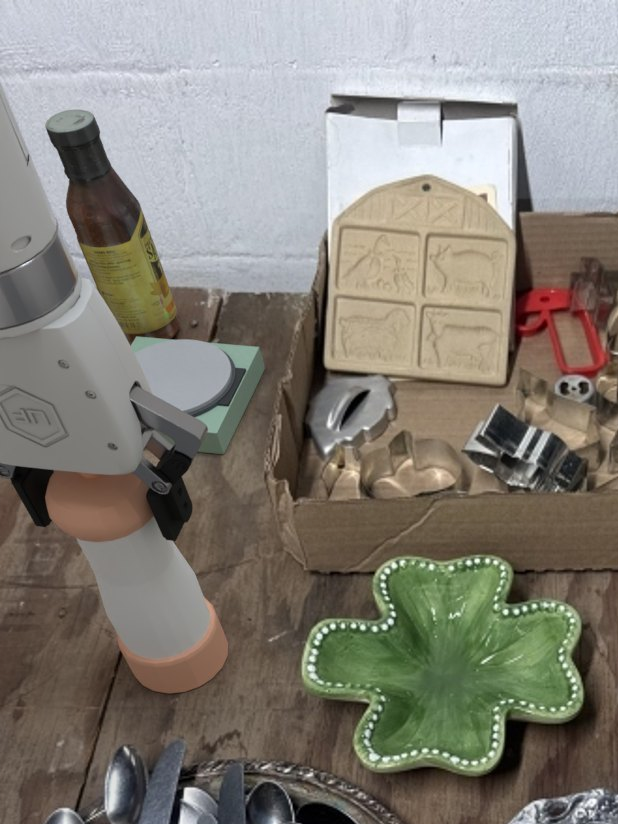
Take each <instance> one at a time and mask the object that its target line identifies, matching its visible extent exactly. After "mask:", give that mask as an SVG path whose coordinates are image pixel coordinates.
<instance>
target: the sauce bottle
mask: <svg viewBox="0 0 618 824" xmlns="http://www.w3.org/2000/svg"><path fill="white" fill-rule="evenodd" d="M45 130H46V132H47V136H48V137H49V141H50V143H51V145H52V146H53V147H54V149H56V151H57V154H58V157H59V159H60V161H61V164H62V167H63V169H64V170H63V172H64V174H65V176H66V177H67V179H68V186H67V191H66V200H65V208H66V213H67V216H68V218H69V220H70V222H71V224H72V227H73V229H74V232H75V234H76V241H77V243H78V245H79V248H80V250H81V253H82V255H83V257H84V260H85V262H86V264H87V265H86V266H87V267H88V269H89V272H90V274H91V277H92V279H93V281H94V282H93V283H94V284H95V287H96V289H97V291H98V292H99V294H100V295H101V296H102V298H103V299H104V301H105V303H106V304H107V306H108V307H109V309H110V311H111V312H112V314H113V315H114V317H115V319H116V321H117V322H118V324H119V326H120V328H121V329H122V331H123V333H124V335H125V337H126V338H127V340H128V342H129V344H130V346H131V344H132V343H133V341H134V339H135V338H136V336H137V337H149V338H161V339H172V340H173V338H174V337H176V335H177V333H178V332H179V328H180V319H179V316H178V313H177V312H178V309H177V305H176V302H175V299H174V297H173V293H172V290H171V287H170V285H169V282H168V280H167V277H166V273H165V271H164V267H163V265H162V261H161V259H160V257H159V253H158V251H157V248H156V245H155V242H154V240H153V237H152V234H151V230H150V228H149V226H148V223H147V220H146V216H145V214H144V212H143V210H142V209H143V208H142V206H141V204H140V202H139V200H138V199H137V197H136V196H135V194H133V192H132V191H131V190H130V188H129V187H128V186H127V185H126V184H125V182H124V181H123V180H122V178H121V177H120V176H119V174H118V173H117V171H116V170H115V168H113V166H112V164H111V162H110V159H109V157H108V156H107V152H106V150H105V147H104V144H103V141H102V138H101V130H100V126H99V125H98V122H97V119H96V117H95V116H94V114H93V113H92V112H91V111H89V110H86V109H85V110H84V109H67V110H63V111H60V112H57V113H55V114H53V115H51V116H50V117H49V118H48V119H46V121H45Z"/></svg>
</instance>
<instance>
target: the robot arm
mask: <svg viewBox="0 0 618 824" xmlns="http://www.w3.org/2000/svg"><path fill="white" fill-rule="evenodd" d="M156 430H157V431H159V432H161V433H163V434H165V435H167V436H168V437H170V438H172V439H173V440H174V442H175V445H174V446H172V445H171V444H170V443H169V442H168V441H167V440H166V439H165V438H163V437H162V436H161V435H160V434H159V433H158V432H157V431H156ZM207 432H208V427H207V426H206V424H205V423H203V422H202V421H200V420H198V419H196V418H195V417H193V416H191V415H189V414H187V413H186V412H184V411H182V410H180V409H178V408H176V407H175V406H173V405H171V404H169V403H167V402H165V401H164V400H162V399H160V398H158V397H156V396H155V395H153V394H152V391H151V389H150V387H149V384H148V382H147V380H146V378H145V375H144V373H143V371H142V369H141V366H140V364H139V362H138V360H137V358H136V356H135V354H134V352H133V350H132V348H131V346H130V344H129V342H128V340H127V338H126V337H125V335H124V333H123V331H122V329H121V328H120V326H119V324H118V322H117V321H116V319H115V317H114V315H113V314H112V312H111V311H110V309H109V307H108V306H107V304H106V303H105V301H104V299H103V298H102V296H101V295H100V294H99V291H98V289H97V287H96V285H94V282H92V280H91V279H89V278H86V277H84V276H83V277H82V276H80V273H79V270H78V268H77V266H76V263H75V261H74V258H73V256H72V253H71V250H70V248H69V246H68V244H67V240H66V238H65V237H64V234H63V231H62V229H61V227H60V224H59V221H58V219H57V217H56V216H55V213H54V210H53V209H52V205H51V203H50V200H49V198H48V196H47V193H46V190H45V187H44V185H43V182H42V181H41V178H40V176H39V173H38V171H37V168H36V165H35V164H34V161H33V159H32V156H31V153H30V151H29V149H28V146H27V144H26V142H25V139H24V137H23V134H22V132H21V129H20V127H19V124H18V122H17V119H16V117H15V114H14V112H13V109H12V107H11V105H10V103H9V100H8V97H7V95H6V93H5V91H4V88H3V85H2V82H0V478H2V479H7V480H10V481H11V485H12V486H13V489H14V490H15V491H16V494H17V495H18V497H19V499H20V500H21V503H22V504H23V506H24V508H25V509H26V511H27V513H28V515H29V516H30V518H31V520H32V521H33V523H34V525H35V526H36V527H39V528H46V527H48V526H50V524H51V523H52V522H53V521H52V520H51V519H50V517H49V513H48V510H47V506H46V500H45V495H46V491H47V486H48V483H49V480H50V477H51V476H52V474H53V473H54V471H55V470H59V471H69V472H80V473H91V474H103V475H123V474H128V473H131V472H132V473H133V474H134V475H136V476H137V477H138V478H139V479H140V480H141V481H143V482H144V483H145V484H146V485H147V486H148V487H150V488H149V489H148V491H147V494H146V499H147V501H148V504H149V506H150V508H151V511H152V513H153V515H154V517H155V520H156V522H157V524H158V527H159V529H160V531H161V533H162V536H163V537H164V538H165V539H166V540H171V541H173V542H175V541H177V539H178V537H179V535H180V533H181V531H182V529H183V528H184V525H185V524H186V523H188V522H189V521H190V519H191V517H192V514H193V506H194V505H193V502H192V499H191V497H190V494H189V492H188V489H187V487H186V483H185V481H184V479H183V476H184V475H185V473H187V472H188V471H189V469H190V467H191V465H192V464H193V462H194V459H195V457H196V455H197V453H198V452H197V451H198V449H199V447H200V445H201V443H202V442H203V440H204V438H205V436H206V434H207ZM145 450H148V451H149V452H150V454H152V455H153V456H154V457H155V458H156V459H158V462H157V464H156V465H154V464H153V463H152V462H151V461H150V460H149V459H147V458H146V457H145V456H144V451H145Z"/></svg>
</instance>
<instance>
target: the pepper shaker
mask: <svg viewBox="0 0 618 824" xmlns="http://www.w3.org/2000/svg"><path fill="white" fill-rule="evenodd" d="M149 488H150V487H148V486H147V485H146V484H145V483H144V482H143V481H141V480H140V479H139V478H138V477H137V476H136V475H134V474H133V473H132V472H131V473H128V474H123V475H103V474H91V473H80V472H69V471H59V470H54V473H53V474H52V476H51V477H50V480H49V483H48V486H47V491H46V495H45V500H46V506H47V510H48V513H49V517H50V519H51V520H52V521H51V522H53V523H54V524H55V525H56V526H57V527H58V529H60V530H61V531H63V532H64V533H65V534H67V535H68V536H71V537H73V538H75V539H76V540H77V543H78V545H79V547H80V548H81V551H82V552H83V555H84V556H85V559H86V560H87V562H88V564H89V566H90V568H91V570H92V572H93V574H94V577H95V581H96V584H97V587H98V590H99V595H100V598H101V602H102V605H103V608H104V609H103V610H104V612H105V615H106V617H107V619H108V620H109V621H110V623H111V625H112V627H113V629H114V630H115V632H116V641H117V644H118V648H119V651H120V652H121V655H122V656H123V658H124V660H125V661H126V664H127V665H128V667H129V668H130V670H131V672H132V674H133V677H134V678H136V680H137V681H138V682H139V683H140V684H141V685H142V686H143V687H145V688H147V689H148V690H151V691H153V692H157V693H163V694H178V693H179V694H180V693H187V692H188V691H189V692H190V691H191V690H194V689H197V688H200V687H202V686H203V685H204V684H206V683H208V682H209V681H211V680H212V679H213V678H214V677H215V676H216V675H217V674H218V673H219V672H220V671H221V670H222V669H223V667H224V665H225V663H226V660H227V659H228V656H229V642H228V639H227V637H226V634H225V630H224V628H223V626H222V624H221V621H220V619H219V617H218V614H217V612H216V610H215V607H214V605H213V604H212V603H211V602H210V600H208V599H207V597H205V596H204V594H203V591H202V589H201V585H200V583H199V580H198V578H197V575H196V573H195V571H194V570H193V568H192V567H191V565H190V564H189V563H188V561H187V560H186V558H185V557H184V555H183V554H182V552H181V551H180V550H179V548H178V547H177V545H176V544H175V541H171V540H166V539H165V538H164V537H163V536H162V533H161V531H160V529H159V527H158V524H157V522H156V520H155V517H154V515H153V513H152V511H151V508H150V506H149V504H148V501H147V499H146V494H147V491H148V489H149Z"/></svg>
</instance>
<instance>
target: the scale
mask: <svg viewBox="0 0 618 824" xmlns="http://www.w3.org/2000/svg"><path fill="white" fill-rule="evenodd" d="M131 348H132V350H133V352H134V354H135V356H136V358H137V360H138V362H139V364H140V366H141V369H142V371H143V373H144V375H145V378H146V380H147V382H148V384H149V387H150V389H151V391H152V394H153V395H155V396H156V397H158V398H160V399H162V400H164V401H165V402H167V403H169V404H171V405H173V406H175V407H176V408H178V409H180V410H182V411H184V412H186V413H187V414H189V415H191V416H193V417H195V418H196V419H198V420H200V421H202V422H203V423H205V424H206V426H207V427H208V432H207V434H206V436H205V438H204V440H203V442H202V443H201V445H200V447H199V449H198V451H197V453H205V454H216V455H225V454H226V451H227V449H228V447H229V445H230V443H231V441H232V439H233V437H234V435H235V432H236V430H237V428H238V426H239V424H240V422H241V420H242V418H243V416H244V414H245V412H246V410H247V408H248V405H249V404H250V401H251V399H252V397H253V395H254V393H255V391H256V389H257V387H258V385H259V382H260V380H261V378H262V376H263V374H264V372H265V370H266V367H265V363H264V360H263V355H262V351H261V349H260V346H252V345H242V344H229V343H218V342H206V341H202V340H199V339H186V338H184V339H180V338H179V339H173V338H172V339H161V338H149V337H137V336H136V338H135V339H134V341H133V343H132V344H131ZM156 431H157V430H156ZM157 432H158V433H159V434H160V435H161V436H162V437H163V438H165V439H166V440H167V441H168V442H169V443H170V444H171V445H172V446H174V445H175V442H174V440H173V439H172V438H170V437H168V436H167V435H165V434H163V433H161V432H159V431H157Z"/></svg>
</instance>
